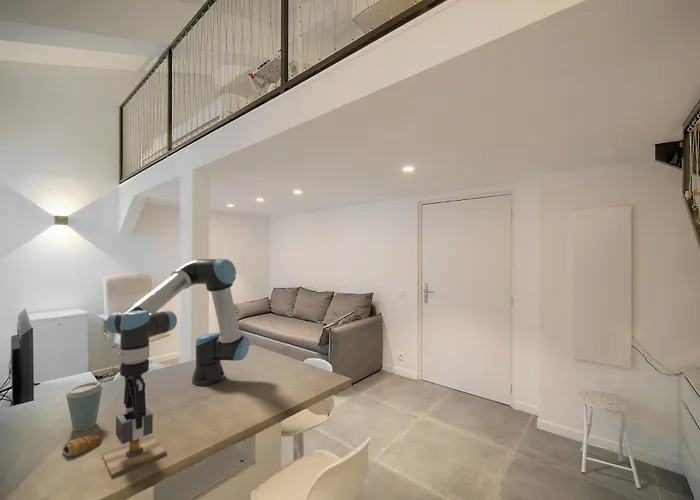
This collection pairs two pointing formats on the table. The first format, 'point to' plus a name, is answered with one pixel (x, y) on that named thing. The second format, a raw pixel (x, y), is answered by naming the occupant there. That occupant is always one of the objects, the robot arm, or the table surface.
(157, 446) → the keeper
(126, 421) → the hollow square block
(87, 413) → the disposable coffee cup
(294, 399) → the table surface
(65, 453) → the pastry
